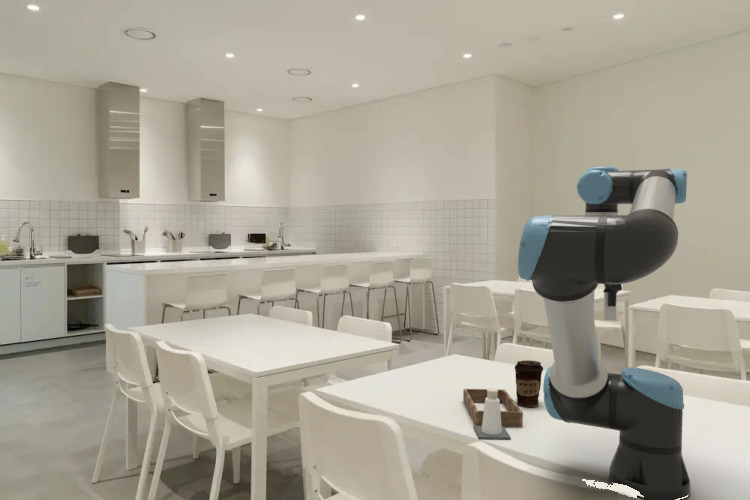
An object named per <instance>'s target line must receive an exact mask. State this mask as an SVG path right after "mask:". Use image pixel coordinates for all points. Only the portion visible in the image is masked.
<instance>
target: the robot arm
mask: <svg viewBox="0 0 750 500" xmlns="http://www.w3.org/2000/svg"><path fill="white" fill-rule="evenodd" d="M687 181H688V173H687V171H686V170H685V169H683V168H680V169H678V168H669V167H668V168H663V169H661V168H660V169H659V168H658V169H641V170H639V169H638V170H619V169H618V167H614V166H593V167H590V168H588V169H587V171H586V172H584V173H583V174H582V175H581V176H580V177H579V179H578V181H577V185H576V192H577V194H578V196H579V197H580V199H581V200H582V201H583V202H585V211H584V215H554V214H551V213H550V214H549V215H534V216H531V217H530V218H528V219H527V220H526V222H525V225H523V226H524V227H523V228H522V232H521V236H520V241H519V242H520V244H519V247H518V258H517V259H518V260H517V272H518V276H519V278H520V279H522V280H525V281H527V282H529V281H531V282H532V287H533V290H534V291H535V293H536V294H537V295H538V296H539V297H541V298H542V299H543V301H544V307H545V308H544V309H545V312H546V314H545V315H546V319H547V326H548V330H549V337H550V342H551V348H552V349H551V350H552V354H553V360H554V362H553V363H552V365H551V366H549V367H548V368H547V369H546V372H545V374H544V379H543V385H542V386H543V402H544V406H545V409H546V412H547V413H548V415H549V416H550V417H551V418H553V420H554V419H555V420H557V421H558V420H559V421H563V422H565V423H568V424H577V425H584V426H590V427H594V428H595V427H596V428H601V429H602V428H603V429H608V430H614V431H619V438H618V439H619V440H618V445H617V448H616V450H615V453H614V455H613V457H612V460H611V461H610V462H611V463H610V465H609V469H608V471H609V473H608V474H609V476H608V479H609V481H610V483H611V482H613V483H618V484H623V485H627V486H629V487H631V488H633V489H635V490H637V491H639V492H640V494H641V495H643V496H644V498H645V500H675V499H678V498H682V497H685V496H687V495H688V494H689V493H690V494H691V479H690V477H689V474H688V470H687V467H686V463H685V460H684V457H683V413H684V412H683V411H684V409H685V404H684V389H683V386H682V385H681V383H680V382H679V381H677V379H675V378H673V377H671V376H669V375H666V374H664V373H661V372H658V371H655V370H650V369H645V368H641V367H640V368H639V367H635V368H634V367H625V368H622V369H621V371H620V374H618V373H613V372H608V370H607V367H606V366H605V365H604V363H603V362H602V361H601V360H600V359H599V354H598V342H597V333H596V325H595V324H596V323H595V315H594V311H595V291H596V289H597V288H598V286H599V285H604V286H603V287H604V288H603V290H602V292H603V309H602V311H603V312H602V313H603V315H602V316H603V317H602V319H603V321H616V320H617V299H618V297H617V295H618V294H617V293H619V292H620V291H622V289H623V287H622V285H623V284H627V283H628V284H629V283H631V282H632V283H633V282H636V281H638V280H640V279H643V278H645V277H647V276H649V275H650V274H653V273H654V272H656V271H657V270H659V269H660V268H661V267H663V266H664V265H665V264H666V263H667V262H668V261H669V259H670V258H672V256H673V255H674V252H675V251H676V249H677V246H678V240H679V230H678V227H677V224H676V222H675V220H674V216H675V209H676V208H675V205H676V204H677V205H678V204H682V203H685V202H686V201H687V200H686V199H687V185H688V182H687ZM619 205H631V208H630V210H629V213H628V214H627V215H622V214H621V215H619V213H618V212H619V210H618V207H619ZM644 498H643V499H644Z"/></svg>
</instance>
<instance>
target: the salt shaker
mask: <svg viewBox="0 0 750 500" xmlns="http://www.w3.org/2000/svg"><path fill="white" fill-rule="evenodd" d="M486 389H487V398H486V399H485V403H484V407H483V411H484V414H483V422H482V430H481V431H482V432H483V433H485V434H489V435H498V434H501V432H502V426H501V413H500V411H501V403H500V401H499V399H498V397H497V396H498V390H497V388H494V387H490V388H486Z"/></svg>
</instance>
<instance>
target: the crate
mask: <svg viewBox="0 0 750 500" xmlns="http://www.w3.org/2000/svg"><path fill="white" fill-rule="evenodd" d="M487 389H488V388H485V389H484V388H463V392H462V393H463V396H462V397H463V399H462V400H463V401H462V402H463V405H465V408H466V410H467V412H468V415H469V416H471V417H470V418H472V419H471V420H473V421H472V422H473V426H482V422H483V414H484V410H478V408H477V406H476V404H485V399H486V398H487ZM496 389H497V388H496ZM497 390H498V396H497V397H498V399H499V401H500V404H502V405H503V406H504V408H505V409H506V410H500V413H501V426H504V428H523V427H524V426H523V421H524V419H523V418H524V417H523V416H524V412H523V410H522V409H521V408H520V406H519V405H518V404H517V402H515V401H514V399H513V398H512V397H511V395H510V394H509V393H508V391H506V389H497Z"/></svg>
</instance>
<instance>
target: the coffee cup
mask: <svg viewBox="0 0 750 500" xmlns="http://www.w3.org/2000/svg"><path fill="white" fill-rule="evenodd" d="M514 371H515V386H516V387H515V389H516V391H515V392H516V393H515V394H516V404H517V406H521V407H526V408H534V407H535V408H537V407H539V403H540V402H539V397H540V391H541V386H542V373H543V371H544V367H543V366H542V364H541V362H540V361H536V360H528V359H527V360H520V361H517V363H516V364H515V366H514Z"/></svg>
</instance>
